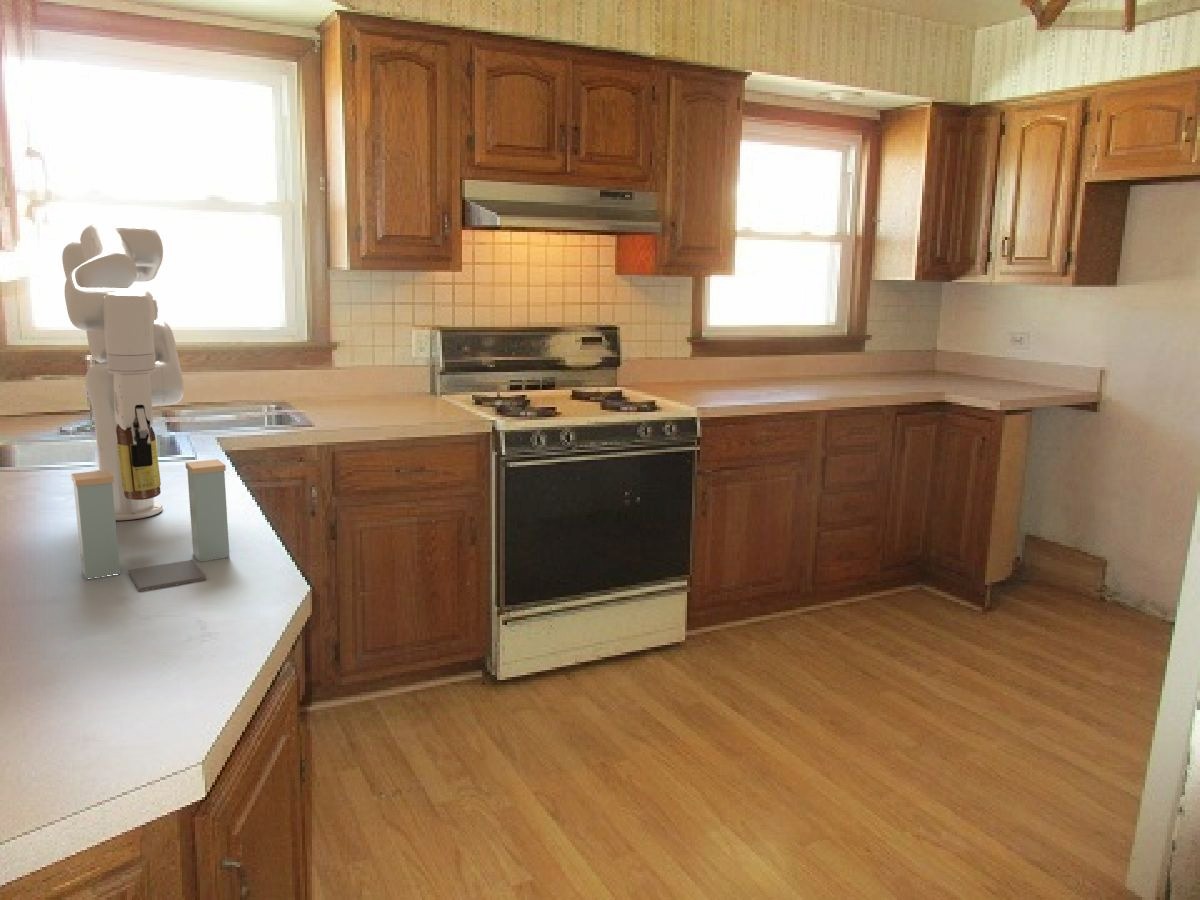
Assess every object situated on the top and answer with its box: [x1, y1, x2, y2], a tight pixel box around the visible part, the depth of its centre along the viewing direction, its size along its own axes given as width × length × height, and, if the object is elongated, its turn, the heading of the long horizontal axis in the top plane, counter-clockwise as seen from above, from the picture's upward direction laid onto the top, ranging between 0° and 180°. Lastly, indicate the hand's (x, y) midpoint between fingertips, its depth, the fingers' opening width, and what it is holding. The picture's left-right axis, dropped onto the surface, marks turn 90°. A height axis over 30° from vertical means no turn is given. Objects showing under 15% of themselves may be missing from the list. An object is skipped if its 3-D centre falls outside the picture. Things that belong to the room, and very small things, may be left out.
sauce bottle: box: [116, 414, 162, 500], centre depth 158 cm, size 7×6×20 cm
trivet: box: [127, 559, 207, 592], centre depth 147 cm, size 10×10×1 cm
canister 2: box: [185, 458, 230, 562], centre depth 156 cm, size 5×5×17 cm
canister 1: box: [70, 470, 121, 580], centre depth 146 cm, size 5×5×17 cm
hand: (138, 461), depth 159 cm, fingers closed on sauce bottle, 6 cm apart
